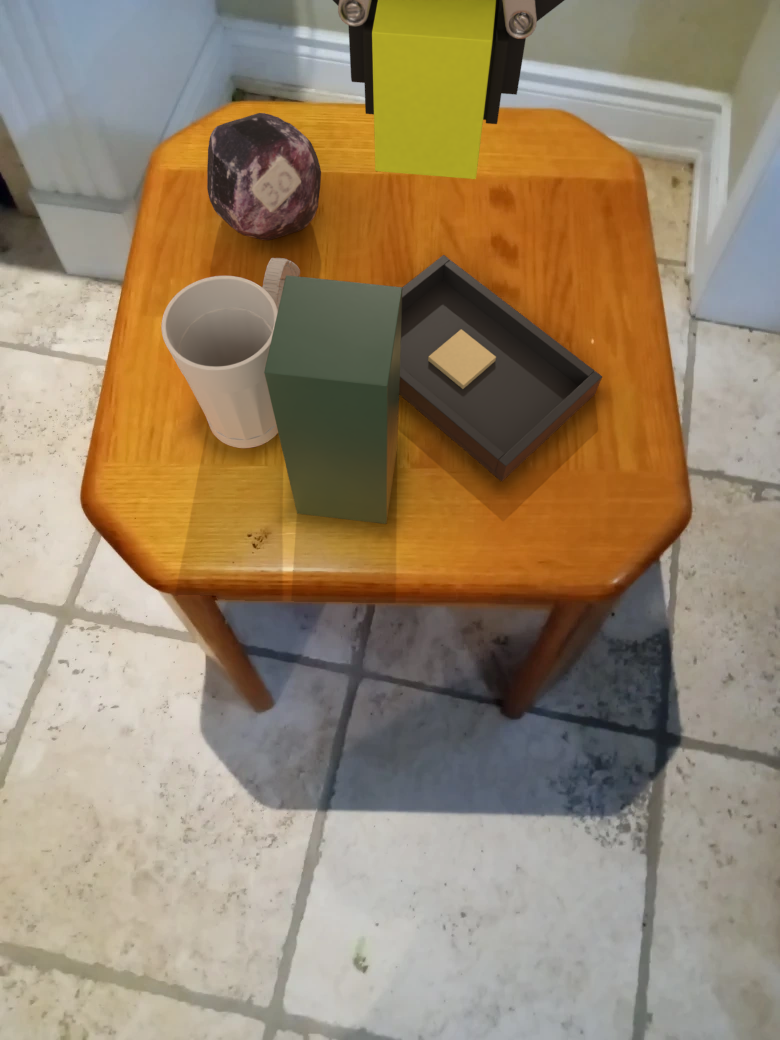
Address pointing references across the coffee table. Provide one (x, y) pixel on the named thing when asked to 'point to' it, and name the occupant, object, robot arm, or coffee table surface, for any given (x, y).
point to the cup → (225, 354)
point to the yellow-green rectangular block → (430, 84)
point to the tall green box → (337, 394)
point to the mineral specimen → (263, 176)
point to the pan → (487, 370)
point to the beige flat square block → (462, 358)
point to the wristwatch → (278, 277)
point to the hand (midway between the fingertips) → (434, 93)
